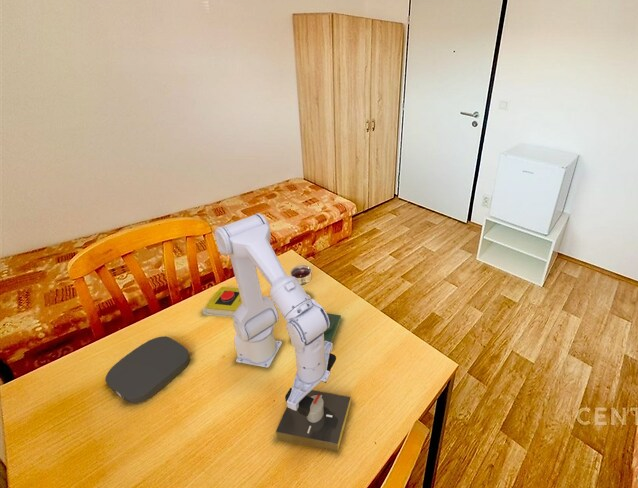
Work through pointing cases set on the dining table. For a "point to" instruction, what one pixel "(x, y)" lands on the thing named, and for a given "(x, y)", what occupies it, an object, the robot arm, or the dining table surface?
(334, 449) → the control panel
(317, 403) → the dial knob
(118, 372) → the media streaming box
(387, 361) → the dining table surface
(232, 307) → the emergency button
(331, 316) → the button housing
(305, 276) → the wineglass
